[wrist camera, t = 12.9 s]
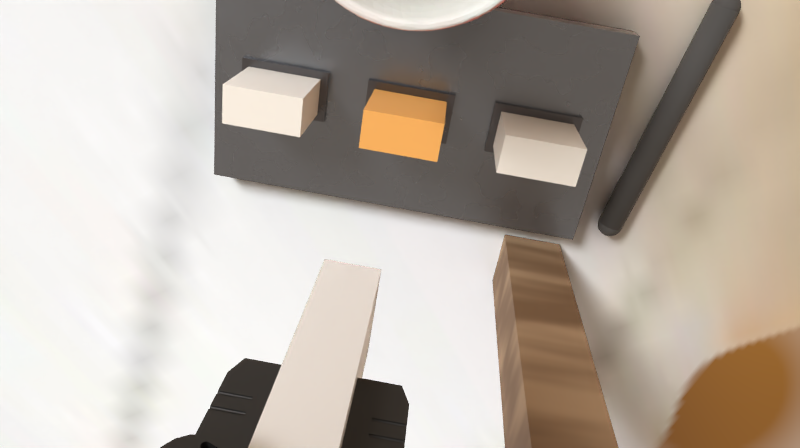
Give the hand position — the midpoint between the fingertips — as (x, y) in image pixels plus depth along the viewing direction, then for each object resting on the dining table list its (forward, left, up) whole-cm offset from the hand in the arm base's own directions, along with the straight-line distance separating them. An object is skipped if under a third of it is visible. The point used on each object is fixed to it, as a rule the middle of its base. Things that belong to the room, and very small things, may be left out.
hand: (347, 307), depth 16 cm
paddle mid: (0, 0, -20) cm, 20 cm away
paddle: (0, -7, -20) cm, 21 cm away
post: (+9, +9, -21) cm, 25 cm away
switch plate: (0, 0, -21) cm, 21 cm away
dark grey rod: (-1, +14, -21) cm, 25 cm away
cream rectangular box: (0, +7, -20) cm, 21 cm away
